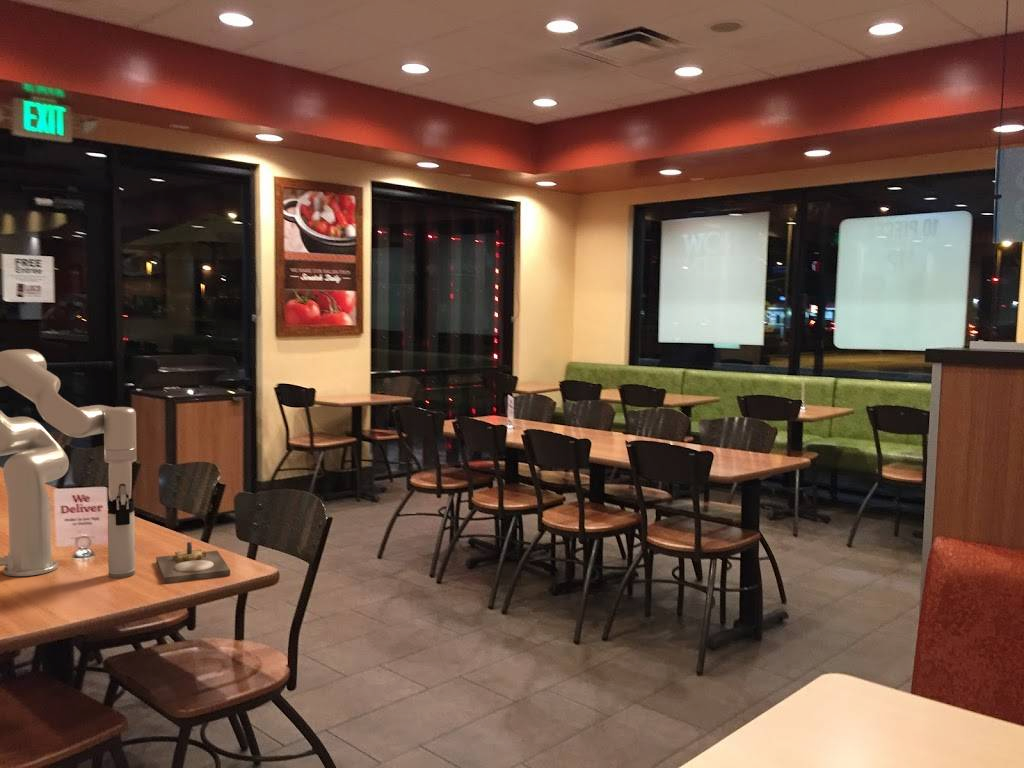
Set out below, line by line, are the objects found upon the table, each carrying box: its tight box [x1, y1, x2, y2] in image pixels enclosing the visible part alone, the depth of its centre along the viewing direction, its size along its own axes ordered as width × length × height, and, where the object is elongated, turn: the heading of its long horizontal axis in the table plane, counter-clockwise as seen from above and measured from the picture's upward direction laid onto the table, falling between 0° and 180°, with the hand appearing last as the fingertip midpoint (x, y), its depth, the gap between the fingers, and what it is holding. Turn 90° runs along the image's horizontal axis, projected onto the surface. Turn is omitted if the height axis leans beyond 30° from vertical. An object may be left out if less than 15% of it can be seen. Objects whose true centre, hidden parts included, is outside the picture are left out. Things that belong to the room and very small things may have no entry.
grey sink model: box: [155, 541, 231, 584], centre depth 225 cm, size 16×20×6 cm
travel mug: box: [107, 497, 136, 579], centre depth 218 cm, size 6×7×20 cm
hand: (121, 520), depth 218 cm, fingers open, 9 cm apart
